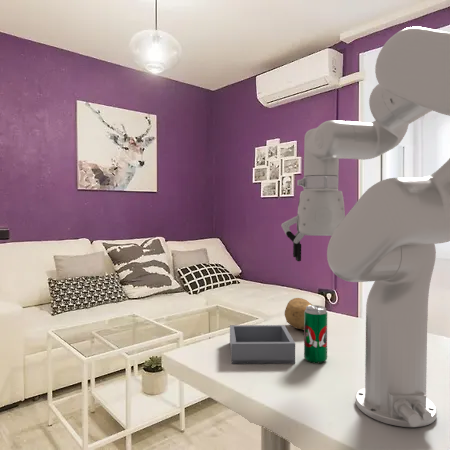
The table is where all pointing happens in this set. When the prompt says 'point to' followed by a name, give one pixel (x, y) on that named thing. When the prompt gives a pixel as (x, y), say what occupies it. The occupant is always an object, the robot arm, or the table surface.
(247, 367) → the table surface
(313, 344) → the soda can
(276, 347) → the bin
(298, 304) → the potato
